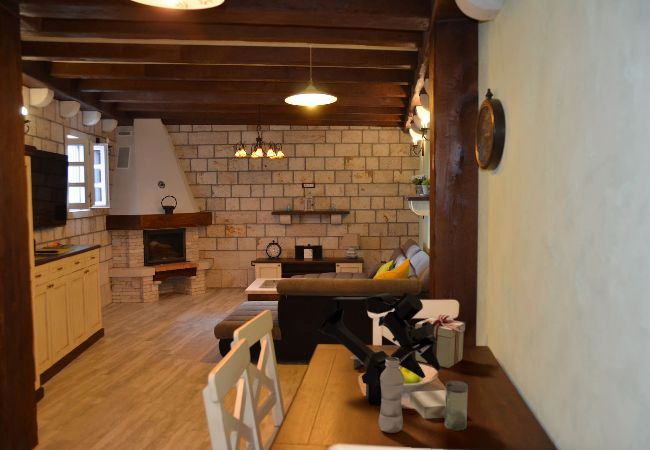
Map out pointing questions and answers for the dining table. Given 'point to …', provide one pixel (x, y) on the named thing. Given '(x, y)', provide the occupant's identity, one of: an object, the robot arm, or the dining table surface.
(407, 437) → the dining table surface
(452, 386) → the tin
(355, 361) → the open flap box
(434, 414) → the base block
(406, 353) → the robot arm
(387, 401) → the plastic bottle
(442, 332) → the gift box
